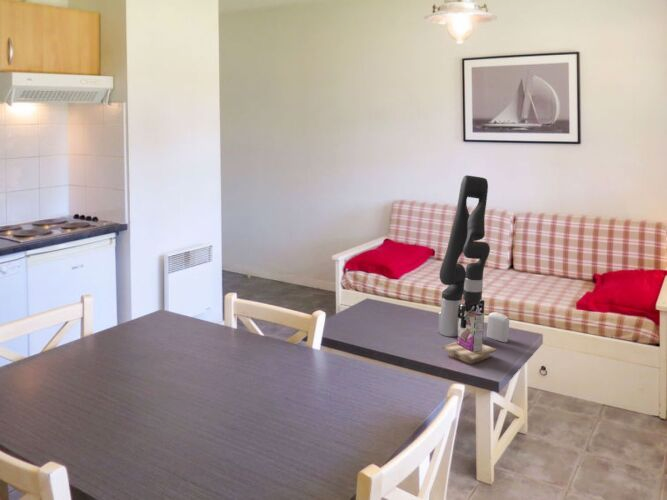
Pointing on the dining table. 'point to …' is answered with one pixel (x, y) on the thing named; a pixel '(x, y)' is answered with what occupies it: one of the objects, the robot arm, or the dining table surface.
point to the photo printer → (498, 327)
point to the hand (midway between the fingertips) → (469, 325)
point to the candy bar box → (471, 332)
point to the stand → (468, 353)
